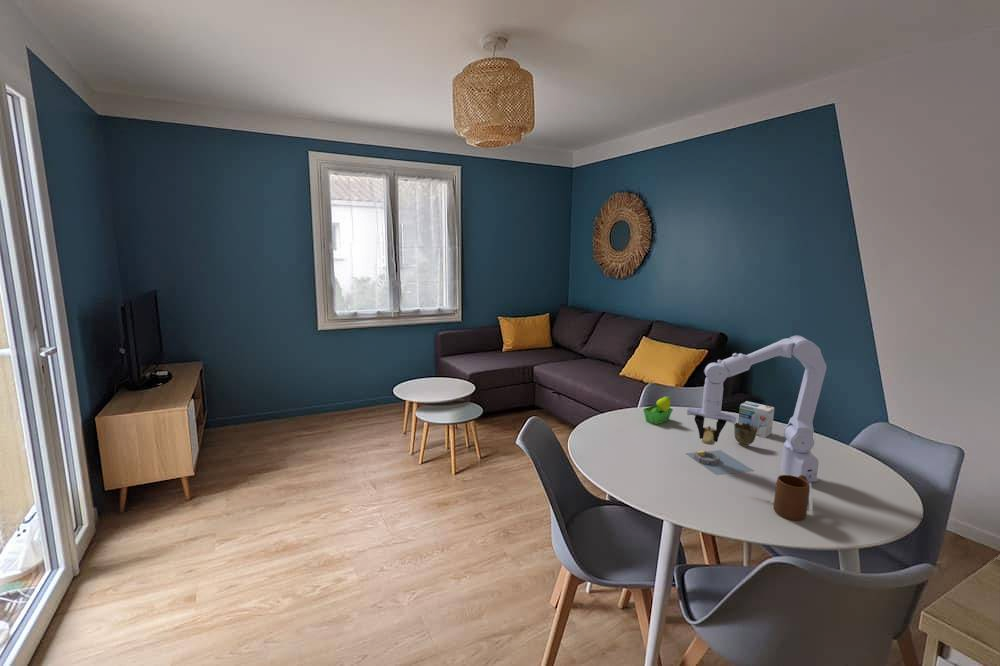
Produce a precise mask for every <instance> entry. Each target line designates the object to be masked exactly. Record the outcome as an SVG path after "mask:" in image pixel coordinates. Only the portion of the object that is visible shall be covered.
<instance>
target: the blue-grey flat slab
mask: <svg viewBox="0 0 1000 666" xmlns="http://www.w3.org/2000/svg"><path fill="white" fill-rule="evenodd" d="M685 455H687V456H688V457H690V458H691V459H693V460H694V461H695V462H696V463H698V464H700V465H701V466H703V467H704V468H706V469H707V470H708V471H710V472H711V473H712V474H714V475H715V476H718V475H719V476H720V475H729V474H739V473H747V472H754V471H755V470H754V469H753V468H751V467H749V466H747V465H746V464H744V463H742V462H741V461H739V460H737V459H736V458H735V457H733V456H731V455H730V454H728V453H726V452H724V451H723V450H711V451H710V450H709V451H707V450H697V451H694V452H686V453H685Z"/></svg>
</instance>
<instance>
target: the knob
mask: <svg viewBox="0 0 1000 666" xmlns="http://www.w3.org/2000/svg"><path fill="white" fill-rule="evenodd" d="M715 435H716V429H715V428H713V427H711V426H710V425H709V426H708V427H707V426H706V427H704V426H703V433H702V439H701V443H703V444H705V445H708V446H709V445H710V446H712V445H713V446H714V445H715V444H716V442H715Z"/></svg>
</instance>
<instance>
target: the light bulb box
mask: <svg viewBox="0 0 1000 666" xmlns="http://www.w3.org/2000/svg"><path fill="white" fill-rule="evenodd" d="M774 416H775V407H773V406H769V405H765V404H762V403H761V404H760V403H757V402H752V401H748V400H746V401H745V402H744V401H743V403H741V404H740V405H739V413H738V419H737V421H738V422H737V424H738V423H739V424H740V425H742V424H743V423H745V424H747V423H749V424H750V425H751V426H752V425H753V427H755V426H756V427H757V428H758V429H757V433H756V436H759V437H762V438H767V437H768V436H770V435H772V433H773V425H774Z"/></svg>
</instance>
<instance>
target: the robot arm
mask: <svg viewBox="0 0 1000 666" xmlns="http://www.w3.org/2000/svg"><path fill="white" fill-rule="evenodd" d="M821 350H822V349H821V348H820V347H818V345H816V343H814V342H813V341H811V340H808V339H807V338H805V337H804V336H802V335H792V336H790V337H789V338H786V337H785V338H782V339H780V340H778V341H776V342H773V343H771V344H769V345H766V346H764V347H763V348H760V349H758V350H755V351H753V352H751V353H748V354H743V353H741V352H740V353H737V352H734V353H732V354H731V355H732V356H730V357H727V358H724V359H722V360H721V359H717V362H710V363H708V364H707V365H706V366H705V368H704V369H703V373H704V375H705V376H706V377H705V379H704V384H703V393H702V394H703V395H702V405H701V407H702V408H692V407H687V410H686V415H687V416H694V422H695V425H696V427H697V430H698V435H699V436H698V437H699V439H701V440H702V433H703V428H704V424H705V418H706V419H710V420H716V424H715V425H716V435H715V443H717V442H718V440H719V437H720V433H721V432H722V431H723V428H724V427H725V426H726V424H727V423H731V424H733V425H734V424H735V423H737V422H736V421H737V420H736V419H737V416H736V415H731V414H729V413H724V412H722V404H723V395H724V382H725V381H726V379H727V378H731V377H733V376H737V375H739V374H741V373H744V372H746V371H749V370H750V369H751V366H753V365H755V364H757V363H761V362H764V361H767V360H770V359H772V358H776V357H783V358H788V359H789V358H790V359H792V358H793V357H795V359H797V360H798V361H799V362H800V363H801V365H802V366H803V368H804V369H805V370H804V372H803V376H802V381H801V383H800V389H799V393H798V398H797V401H796V403H795V404H796V405H795V408H794V412H793V416H792V417H791V416H790V419H789V421H788V423H787V424H786V426H784V428H783V431H782V433H783V436H784V439H786V440H785V441H784V443H783V447H782V455H781V463H780V470H781V472H782V473H784V474H785V475H791V476H796V477H799V476H800V475H803V476H805V477H806V478H807V482H808V483H813V482H819V479H818V478H817V476H818V472H819V471H818V470H819V469H818V468H819V458H817V457H816V456H815V455H814V454H813V452H811V451H812V449H813V448H814V446H815V439H814V433H815V430H814V423H813V422H814V417H815V413H816V411H817V410H816V409H817V405H818V402H819V398H820V395H821V391H822V386H823V384H824V379H825V376H826V372H827V364H826V361H825V360H824V357H823V355H822V353H821V352H822V351H821ZM792 356H793V357H792Z"/></svg>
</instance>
